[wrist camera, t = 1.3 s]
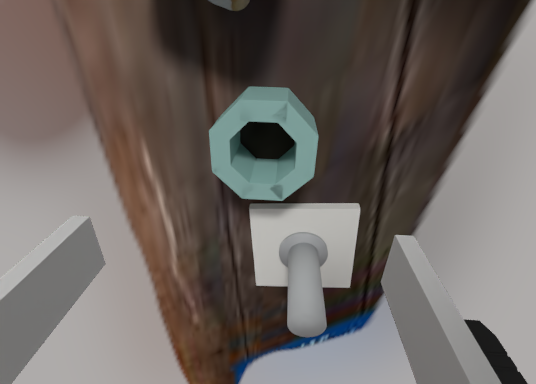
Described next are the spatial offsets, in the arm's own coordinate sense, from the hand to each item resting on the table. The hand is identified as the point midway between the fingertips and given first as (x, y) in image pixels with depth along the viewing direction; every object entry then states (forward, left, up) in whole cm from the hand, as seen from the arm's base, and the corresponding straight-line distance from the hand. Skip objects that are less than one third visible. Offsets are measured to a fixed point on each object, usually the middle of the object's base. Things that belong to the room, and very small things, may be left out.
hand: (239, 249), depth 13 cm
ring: (0, 0, -16) cm, 16 cm away
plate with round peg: (+6, +12, -16) cm, 20 cm away
